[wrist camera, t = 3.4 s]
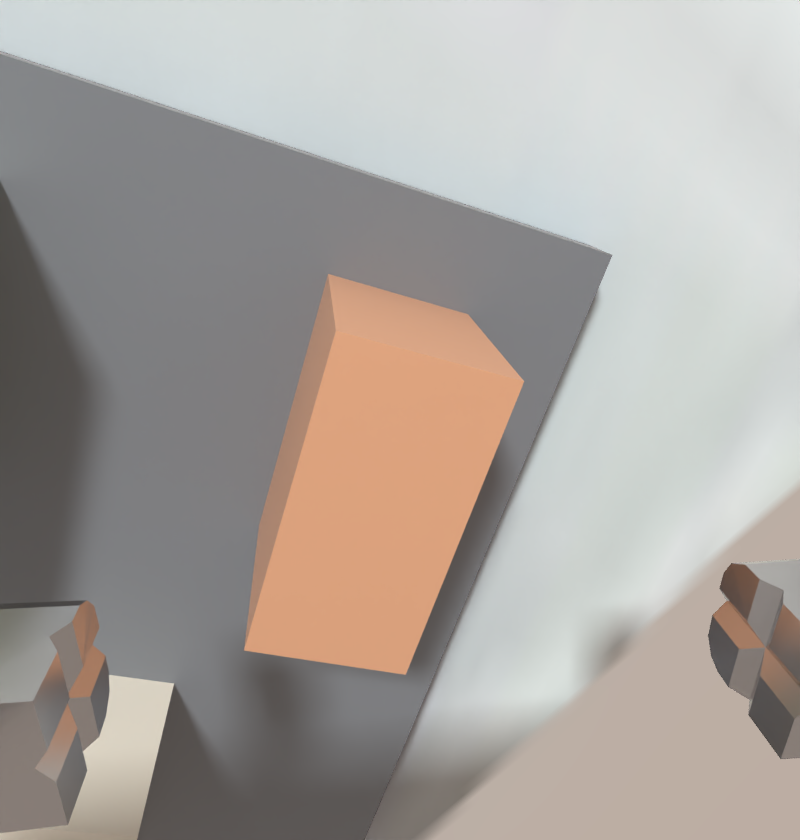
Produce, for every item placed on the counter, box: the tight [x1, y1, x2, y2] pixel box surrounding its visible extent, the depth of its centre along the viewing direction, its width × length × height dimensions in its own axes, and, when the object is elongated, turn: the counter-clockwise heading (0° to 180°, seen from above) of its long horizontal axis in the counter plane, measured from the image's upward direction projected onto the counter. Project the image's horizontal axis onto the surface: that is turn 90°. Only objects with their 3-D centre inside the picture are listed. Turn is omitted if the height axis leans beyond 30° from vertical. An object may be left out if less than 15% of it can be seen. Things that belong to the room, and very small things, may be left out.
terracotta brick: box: [244, 274, 524, 675], centre depth 13 cm, size 6×3×4 cm, turn 162°
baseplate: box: [0, 51, 612, 840], centre depth 16 cm, size 20×16×1 cm
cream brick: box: [0, 675, 174, 840], centre depth 16 cm, size 6×3×4 cm, turn 162°
